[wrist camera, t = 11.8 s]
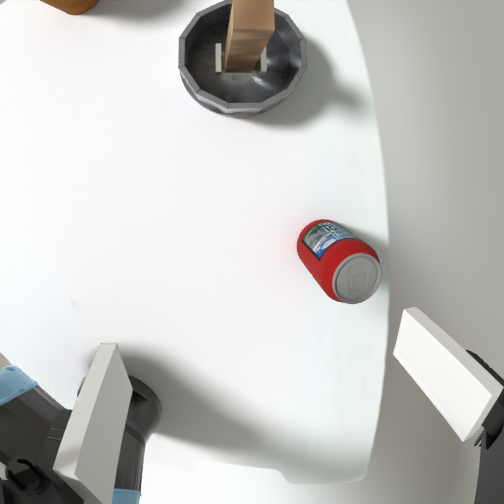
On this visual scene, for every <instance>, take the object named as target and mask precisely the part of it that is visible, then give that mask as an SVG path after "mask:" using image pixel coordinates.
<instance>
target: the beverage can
mask: <svg viewBox="0 0 504 504" xmlns="http://www.w3.org/2000/svg"><path fill="white" fill-rule="evenodd" d="M297 252H298V255H299V258H300V259H301V261H302V262H303V264H304V265H305V266H306V268H307V269H308V270H309V272H310V273H311V274H312V276H313V277H314V278H315V280H316V281H317V282H318V284H319V285H320V286H321V288H322V289H323V290H324V292H325V293H326V294H327V295H328V296H329V297H330V298H331V299H333V300H335V301H338V302H343V303H347V304H357V303H361V302H363V301H365V300H367V299H368V298H369V297H371V296H372V295H373V294H374V292H375V291H376V290H377V288H378V286H379V284H380V281H381V275H382V273H381V267H380V263H379V259H378V256H377V254H376V252H375V251H374V249H373V248H371V247H370V246H369V245H367V244H366V243H365V242H363V241H362V240H360V239H359V238H358V237H356V236H355V235H353V234H352V233H350V232H349V231H347V230H346V229H344V228H343V227H341V226H339V225H338V224H336V223H335V222H333V221H330V220H317V221H314V222H312V223H310V224H309V225H307V226H306V227H305V228H304V229H303V230H302V232H301V233H300V235H299V238H298V241H297Z"/></svg>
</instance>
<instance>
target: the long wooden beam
mask: <svg viewBox="0 0 504 504" xmlns="http://www.w3.org/2000/svg"><path fill="white" fill-rule="evenodd" d="M274 31H275V22H274V0H233V3H232V9H231V15H230V21H229V27H228V33H227V40H226V47H225V73H251V72H252V70H253V68H254V66H255V64H256V63H257V61H258V59H259V57H260V55H261V54H262V52H263V50H264V48H265V46H266V45H267V43H268V41H269V39H270V38H271V36H272V34H273V32H274Z"/></svg>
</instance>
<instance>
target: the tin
mask: <svg viewBox="0 0 504 504" xmlns="http://www.w3.org/2000/svg"><path fill="white" fill-rule="evenodd" d="M232 3H233V0H224V1H222V2H219V3H217V4H215V5H213V6H211V7H209V8H206V9H204V10H202V11H200V12H198V13H196V15H195V16H194V18H193V19H192V20H191V22H190V23H189V24H188V26H187V27H186V29H185V30H184V31H183V33H182V34H181V36H180V37H179V65H178V68H179V70H180V75H181V78H182V81H183V84H184V86H185V88H186V89H187V91H188V93H189V94H190V95H191V97H192V98H193V99H194V100H195V101H196V102H197V103H199V104H200V105H201V106H203V107H204V108H206V109H208V110H209V111H212V112H214V113H216V114H220V115H223V116H228V117H250V116H255V115H258V114H261V113H264V112H266V111H268V110H270V109H272V108H273V107H275V106H277V105H278V104H279V103H280V102H282V101H283V100H284V99H285V98H286V97H287V96H288V95H290V94H291V93H292V92H293V90H294V88H295V87H296V85H297V83H298V82H299V80H300V78H301V77H302V75H303V73H304V72H305V70H306V68H307V58H306V40H305V38H304V36H303V35H302V33H301V32H300V31H299V29H298V28H297V26H296V25H295V23H294V22H293V21H292V19H291V18H290V17H289V15H288V14H286V13H284V12H282V11H280V10H278V9H276V8H274V22H275V31H274V32H273V34H272V36H271V38H270V39H269V41H268V43H267V45H266V46H265V48H264V50H263V52H262V54H261V55H260V57H259V59H258V61H257V63H256V64H255V66H254V68H253V70H252V72H251V73H225V47H226V40H227V33H228V27H229V21H230V15H231V9H232Z"/></svg>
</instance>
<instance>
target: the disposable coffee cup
mask: <svg viewBox="0 0 504 504" xmlns="http://www.w3.org/2000/svg"><path fill="white" fill-rule="evenodd" d="M40 1H42V2H44V3H46V4H49V5H51V6H53V7H55V8H57V9H59V10H62V11H63V12H65V13H67V14H70V15H77V14H81V13H83V12H86V11H87V10H89V9H90V8H92V7H93V6H94V5H95V4H96V3H97V2H98V1H99V0H40Z"/></svg>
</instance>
